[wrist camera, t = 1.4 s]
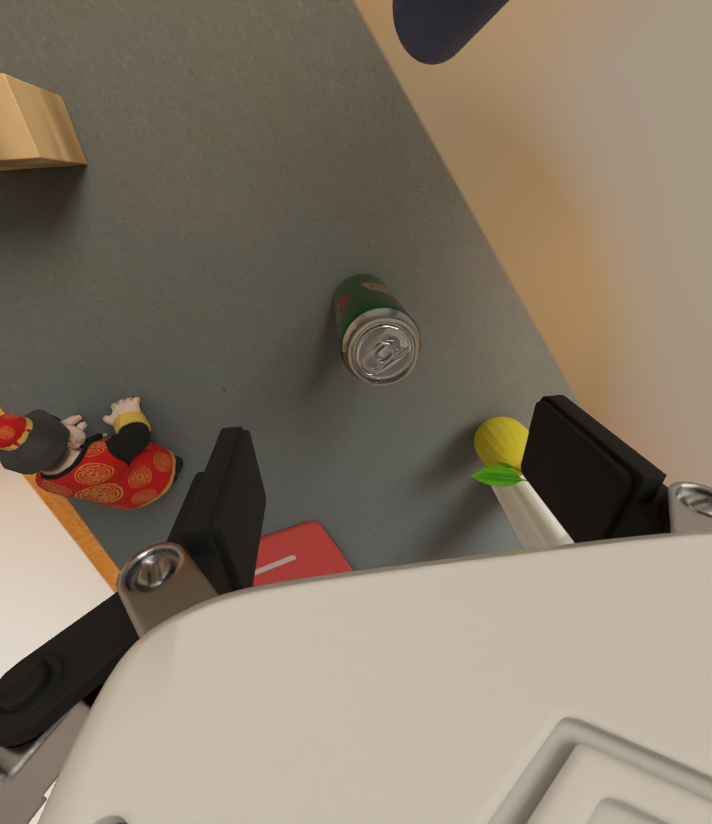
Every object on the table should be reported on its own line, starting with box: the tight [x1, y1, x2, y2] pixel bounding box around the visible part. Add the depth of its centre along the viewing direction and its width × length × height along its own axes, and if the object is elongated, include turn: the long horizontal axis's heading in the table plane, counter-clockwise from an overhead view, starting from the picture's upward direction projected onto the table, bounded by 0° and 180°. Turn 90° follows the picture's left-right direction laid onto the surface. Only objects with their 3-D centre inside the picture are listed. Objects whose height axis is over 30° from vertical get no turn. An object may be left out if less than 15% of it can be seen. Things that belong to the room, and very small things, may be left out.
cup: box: [491, 475, 574, 549], centre depth 38 cm, size 8×8×14 cm
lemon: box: [472, 417, 529, 486], centre depth 36 cm, size 7×6×10 cm
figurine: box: [0, 397, 183, 510], centre depth 31 cm, size 10×10×15 cm
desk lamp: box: [253, 521, 353, 587], centre depth 33 cm, size 18×38×40 cm, turn 25°
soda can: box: [333, 274, 421, 385], centre depth 26 cm, size 5×5×12 cm
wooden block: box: [0, 73, 87, 171], centre depth 21 cm, size 6×4×5 cm, turn 94°
